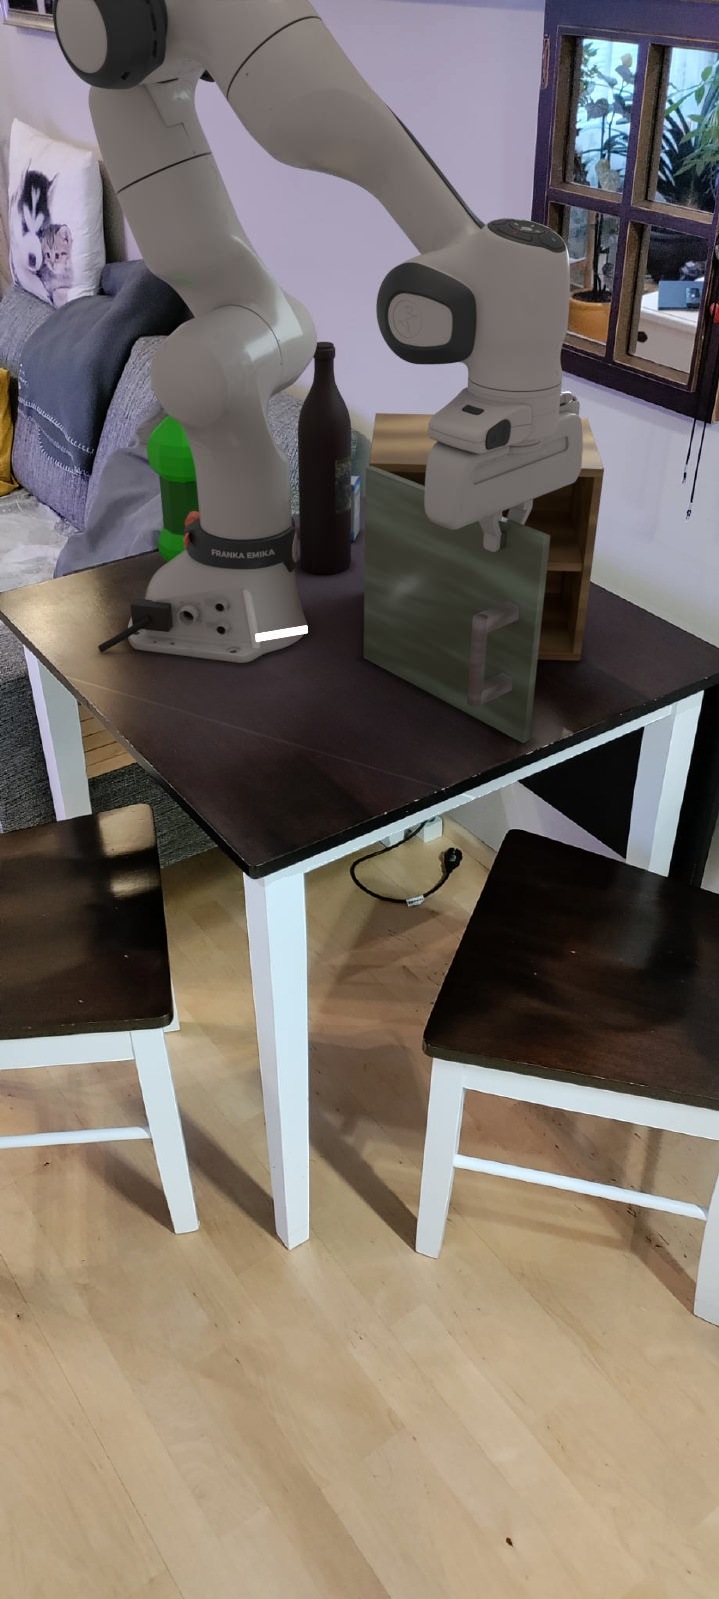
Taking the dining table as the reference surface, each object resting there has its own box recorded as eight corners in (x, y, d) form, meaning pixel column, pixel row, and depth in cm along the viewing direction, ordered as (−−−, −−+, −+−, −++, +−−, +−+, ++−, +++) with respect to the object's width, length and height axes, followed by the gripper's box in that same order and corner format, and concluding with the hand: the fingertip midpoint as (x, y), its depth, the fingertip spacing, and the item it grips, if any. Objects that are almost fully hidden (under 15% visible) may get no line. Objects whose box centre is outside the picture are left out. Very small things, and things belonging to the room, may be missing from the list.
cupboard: (580, 661, 148) (604, 468, 134) (366, 654, 149) (369, 462, 135) (567, 597, 163) (587, 417, 149) (373, 591, 164) (375, 412, 150)
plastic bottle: (154, 583, 165) (137, 397, 151) (164, 552, 174) (148, 373, 159) (228, 584, 165) (217, 398, 151) (234, 552, 174) (225, 374, 159)
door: (486, 762, 129) (503, 553, 115) (327, 672, 145) (325, 479, 131) (529, 740, 132) (550, 535, 119) (369, 655, 148) (372, 465, 135)
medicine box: (301, 538, 178) (300, 481, 173) (307, 527, 182) (306, 470, 177) (354, 542, 177) (355, 484, 172) (359, 530, 181) (360, 474, 176)
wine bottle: (340, 579, 167) (340, 354, 149) (292, 571, 169) (287, 348, 151) (357, 559, 172) (359, 340, 155) (311, 552, 174) (308, 334, 157)
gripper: (554, 380, 124) (542, 510, 131) (415, 424, 112) (411, 564, 120) (605, 393, 120) (589, 526, 128) (467, 440, 108) (458, 583, 116)
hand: (502, 545), depth 124 cm, fingers closed on door
